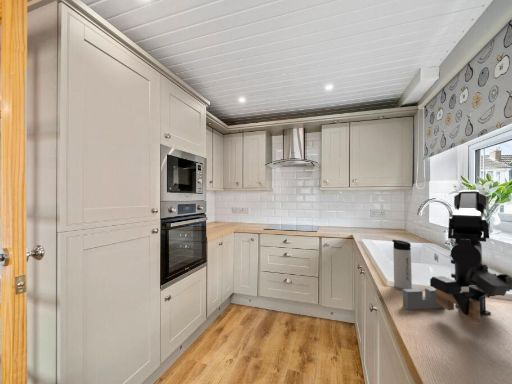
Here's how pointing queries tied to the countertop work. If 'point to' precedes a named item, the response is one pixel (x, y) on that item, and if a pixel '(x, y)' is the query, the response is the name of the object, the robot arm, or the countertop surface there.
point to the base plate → (420, 299)
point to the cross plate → (449, 301)
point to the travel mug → (402, 265)
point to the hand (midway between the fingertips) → (469, 314)
